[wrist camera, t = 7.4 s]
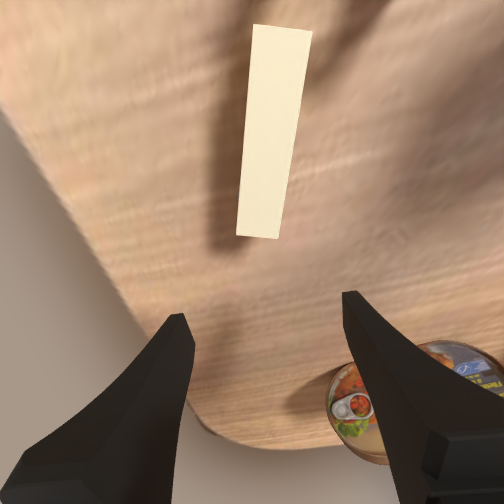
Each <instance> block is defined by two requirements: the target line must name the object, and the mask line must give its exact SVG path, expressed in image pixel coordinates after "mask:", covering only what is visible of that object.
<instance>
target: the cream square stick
mask: <svg viewBox="0 0 504 504" xmlns="http://www.w3.org/2000/svg"><path fill="white" fill-rule="evenodd" d="M312 32H313V31H307V30H299V29H291V28H283V27H275V26H267V25H259V24H253V36H252V48H251V60H250V72H249V84H248V96H247V108H246V120H245V133H244V145H243V157H242V169H241V177H240V185H239V195H238V198H239V205H238V217H237V229H236V235H242V236H253V237H263V238H274V239H278V236H279V230H280V224H281V218H282V212H283V206H284V201H285V195H286V188H287V182H288V176H289V170H290V164H291V158H292V152H293V146H294V140H295V134H296V128H297V122H298V116H299V110H300V104H301V98H302V92H303V86H304V80H305V74H306V68H307V62H308V56H309V50H310V44H311V38H312Z"/></svg>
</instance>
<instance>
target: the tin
mask: <svg viewBox="0 0 504 504" xmlns="http://www.w3.org/2000/svg"><path fill="white" fill-rule="evenodd" d="M417 347H419V348H420V349H421V350H423V351H424V352H426V353H427V354H428V355H430V356H431V357H433V358H434V359H436V360H437V361H439V362H440V363H442V364H443V365H445V366H447V367H448V368H450V369H452V370H453V371H455V372H457V373H458V374H460V375H461V376H463V377H465V378H467V379H468V380H470V381H472V382H474V383H476V384H478V385H480V386H481V387H483V388H485V389H487V390H489V391H491V392H493V393H495V394H497V395H499V396H501V397H503V398H504V366H503V365H502V364H501V363H500V362H499V361H498V360H497V359H495V358H494V357H493V356H491V355H490V354H488V353H486V352H484V351H483V350H481V349H479V348H476V347H474V346H471V345H468V344H465V343H461V342H455V341H432V342H428V343H424V344H421V345H417ZM326 411H327V415H328V418H329V421H330V423H331V425H332V427H333V429H334V430H335V432H336V433H337V434H338V436H339V437H340V439H341V440H342V441H343V443H344V444H345V445H346V446H347V447H348V448H349V449H350V450H351V451H352V452H353V453H355V454H356V455H357V456H359V457H360V458H362V459H364V460H366V461H369V462H372V463H375V464H379V465H389V461H388V458H387V454H386V451H385V447H384V444H383V440H382V437H381V433H380V430H379V427H378V423H377V420H376V417H375V413H374V410H373V407H372V404H371V401H370V398H369V396H368V393H367V391H366V388H365V386H364V383H363V381H362V378H361V376H360V374H359V371H358V369H357V366H356V364H355V362H352V363H350V364H348V365H346V366H345V367H343V368H342V369H341V370H339V371H338V372H337V373H336V374H335V376H334V377H333V378H332V380H331V382H330V384H329V386H328V389H327V393H326Z"/></svg>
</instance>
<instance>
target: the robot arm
mask: <svg viewBox="0 0 504 504" xmlns="http://www.w3.org/2000/svg"><path fill="white" fill-rule="evenodd" d="M342 306H343V328H344V331H345V335H346V339H347V342H348V346H349V349H350V351H351V354H352V356H353V359H354V361H355V364H356V366H357V369H358V371H359V374H360V376H361V378H362V381H363V383H364V386H365V388H366V391H367V393H368V396H369V398H370V401H371V404H372V407H373V410H374V413H375V417H376V420H377V423H378V427H379V430H380V433H381V437H382V440H383V444H384V447H385V451H386V454H387V458H388V461H389V465H390V468H391V472H392V476H393V479H394V483H395V486H396V490H397V494H398V498H399V502H400V504H504V398H503V397H501V396H499V395H497V394H495V393H493V392H491V391H489V390H487V389H485V388H483V387H481V386H480V385H478V384H476V383H474V382H472V381H470V380H468V379H467V378H465V377H463V376H461V375H460V374H458V373H457V372H455V371H453V370H452V369H450V368H448V367H447V366H445V365H443V364H442V363H440V362H439V361H437V360H436V359H434V358H433V357H431V356H430V355H428V354H427V353H426V352H424V351H423V350H421V349H420V348H419V347H417V346H416V345H415V344H413V343H412V342H411V341H410V340H408V339H407V338H406V337H405V336H404V335H402V334H401V333H400V332H399V331H398V330H396V329H395V328H394V327H393V326H392V325H391V324H390V323H389V322H388V321H386V320H385V319H384V318H383V317H382V316H381V315H380V314H379V313H378V312H377V311H376V310H375V309H374V308H373V307H372V306H371V305H370V304H369V303H368V302H367V301H366V300H365V299H364V297H363V296H362V295H361V294H360V293H359V292H358V291H349V292H342ZM194 354H195V341H194V339H193V336H192V334H191V331H190V329H189V326H188V324H187V321H186V319H185V316H184V314H183V313H179V314H172V315H170V316H169V317H168V318H167V320H166V321H165V322H164V324H163V325H162V326H161V327H160V329H159V330H158V331H157V333H156V334H155V335H154V336H153V338H152V339H151V340H150V341H149V343H148V344H147V345H146V346H145V348H144V349H143V350H142V351H141V353H140V354H139V355H138V356H137V357H136V358H135V359H134V360H133V362H132V363H131V364H130V365H129V366H128V367H127V368H126V369H125V371H124V372H123V373H122V374H121V375H120V376H119V377H118V378H117V379H116V380H115V381H114V382H113V383H112V384H111V385H110V386H109V387H108V388H106V389H105V390H104V391H103V392H102V393H101V394H100V395H99V396H97V397H96V398H95V399H94V400H93V401H92V402H91V403H90V404H88V405H87V406H86V407H85V408H84V409H82V410H81V411H80V412H79V413H77V414H76V415H75V416H74V417H72V418H71V419H70V420H68V421H67V422H66V423H65V424H63V425H62V426H60V427H59V428H58V429H56V430H55V431H54V432H52V433H51V434H49V435H48V436H46V437H45V438H43V439H42V440H40V441H39V442H37V443H36V444H35V445H33V446H32V447H30V448H29V449H27V450H26V451H25V452H24V453H23V455H22V456H21V458H20V460H19V461H18V463H17V465H16V466H15V468H14V469H13V471H12V473H11V474H10V476H9V478H8V479H7V481H6V483H5V484H4V486H3V487H2V489H1V491H0V500H1V502H2V504H171V499H172V488H173V487H172V486H173V477H174V466H175V458H176V449H177V442H178V434H179V427H180V421H181V415H182V411H183V407H184V403H185V398H186V394H187V390H188V386H189V382H190V377H191V373H192V368H193V363H194Z"/></svg>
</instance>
